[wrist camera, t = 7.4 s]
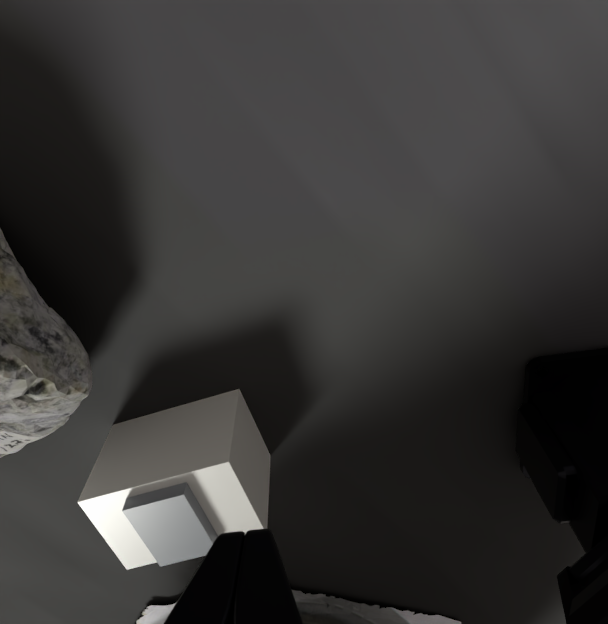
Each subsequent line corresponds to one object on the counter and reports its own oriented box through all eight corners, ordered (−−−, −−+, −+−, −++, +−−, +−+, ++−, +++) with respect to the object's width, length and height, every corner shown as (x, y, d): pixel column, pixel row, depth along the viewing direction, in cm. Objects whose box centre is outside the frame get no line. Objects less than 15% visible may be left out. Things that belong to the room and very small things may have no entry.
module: (239, 387, 23) (227, 474, 18) (270, 454, 25) (266, 548, 20) (113, 423, 24) (71, 515, 19) (152, 485, 25) (122, 583, 21)
